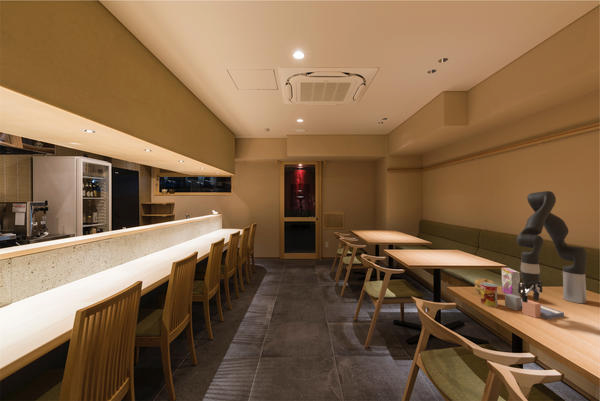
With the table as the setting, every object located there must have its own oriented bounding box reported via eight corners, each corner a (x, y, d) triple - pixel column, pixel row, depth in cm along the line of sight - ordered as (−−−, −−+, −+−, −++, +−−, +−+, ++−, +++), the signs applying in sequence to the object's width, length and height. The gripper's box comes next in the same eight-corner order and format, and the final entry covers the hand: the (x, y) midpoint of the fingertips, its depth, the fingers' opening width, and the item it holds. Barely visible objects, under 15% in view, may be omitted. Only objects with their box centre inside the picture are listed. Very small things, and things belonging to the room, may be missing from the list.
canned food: (480, 300, 152) (479, 281, 152) (496, 303, 148) (495, 283, 148) (481, 305, 145) (481, 285, 145) (498, 308, 141) (498, 287, 141)
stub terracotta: (527, 311, 135) (527, 299, 135) (540, 316, 129) (540, 303, 129) (522, 312, 134) (522, 300, 134) (535, 317, 128) (535, 304, 128)
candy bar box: (501, 291, 166) (500, 267, 166) (509, 291, 165) (509, 267, 165) (512, 297, 155) (511, 272, 155) (521, 298, 154) (520, 272, 154)
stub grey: (510, 305, 144) (509, 293, 144) (521, 309, 138) (521, 297, 138) (505, 306, 143) (504, 294, 143) (516, 310, 137) (516, 298, 137)
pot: (477, 295, 159) (477, 280, 159) (472, 289, 170) (472, 275, 170) (499, 298, 155) (499, 282, 155) (493, 291, 165) (492, 277, 165)
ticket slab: (521, 301, 149) (521, 298, 149) (564, 316, 129) (564, 312, 129) (506, 304, 146) (506, 300, 146) (548, 319, 126) (548, 315, 126)
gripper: (531, 268, 137) (531, 297, 137) (512, 270, 134) (513, 299, 134) (547, 272, 130) (548, 302, 130) (528, 274, 126) (529, 305, 126)
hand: (530, 301), depth 132 cm, fingers open, 8 cm apart
